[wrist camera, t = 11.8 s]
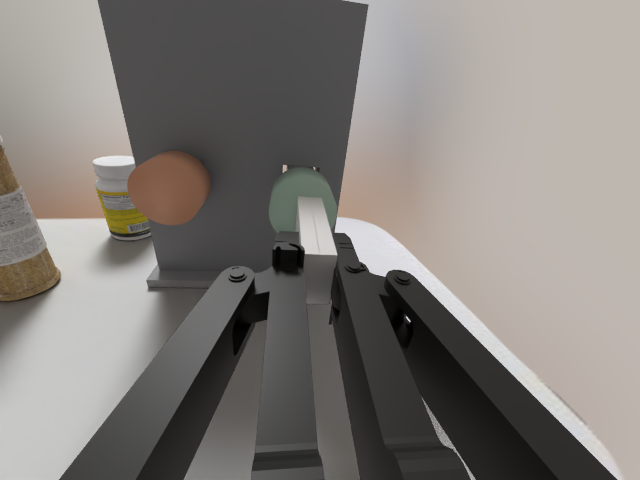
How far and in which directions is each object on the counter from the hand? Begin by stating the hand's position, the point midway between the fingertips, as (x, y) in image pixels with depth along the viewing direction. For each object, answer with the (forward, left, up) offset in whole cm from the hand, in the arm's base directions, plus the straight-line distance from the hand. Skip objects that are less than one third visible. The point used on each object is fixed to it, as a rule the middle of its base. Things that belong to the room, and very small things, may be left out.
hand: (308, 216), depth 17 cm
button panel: (-5, +8, -10) cm, 13 cm away
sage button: (0, +6, -2) cm, 6 cm away
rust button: (-9, +8, -2) cm, 12 cm away
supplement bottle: (-19, +15, -10) cm, 26 cm away
